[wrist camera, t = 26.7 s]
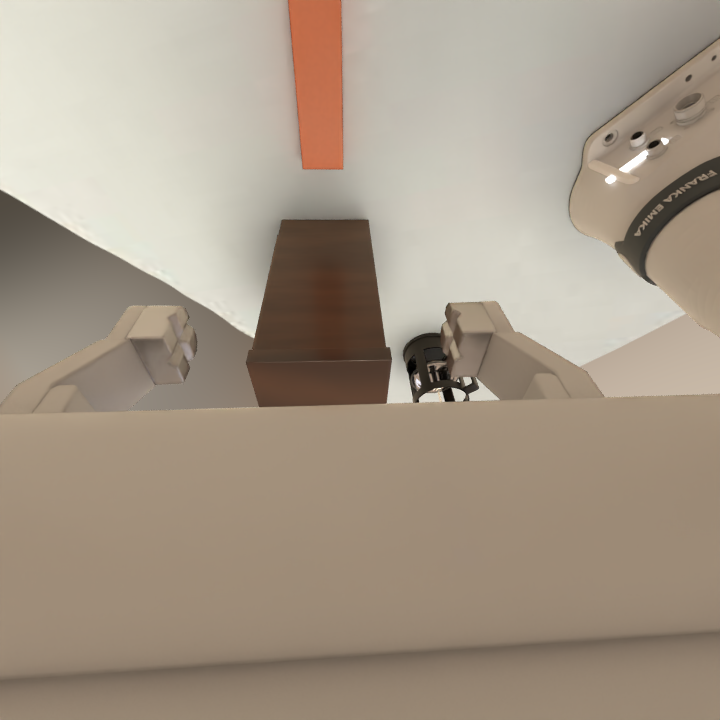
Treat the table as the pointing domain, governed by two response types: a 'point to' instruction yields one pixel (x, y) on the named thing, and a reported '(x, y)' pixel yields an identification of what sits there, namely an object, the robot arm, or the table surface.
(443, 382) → the french press
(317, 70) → the orange rectangular bar
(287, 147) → the table surface
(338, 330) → the cabinet
